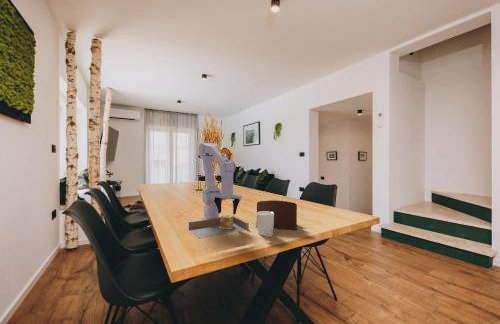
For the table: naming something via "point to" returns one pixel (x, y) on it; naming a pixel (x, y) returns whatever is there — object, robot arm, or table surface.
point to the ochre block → (226, 221)
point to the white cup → (265, 223)
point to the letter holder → (281, 213)
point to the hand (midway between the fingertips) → (227, 213)
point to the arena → (216, 227)
